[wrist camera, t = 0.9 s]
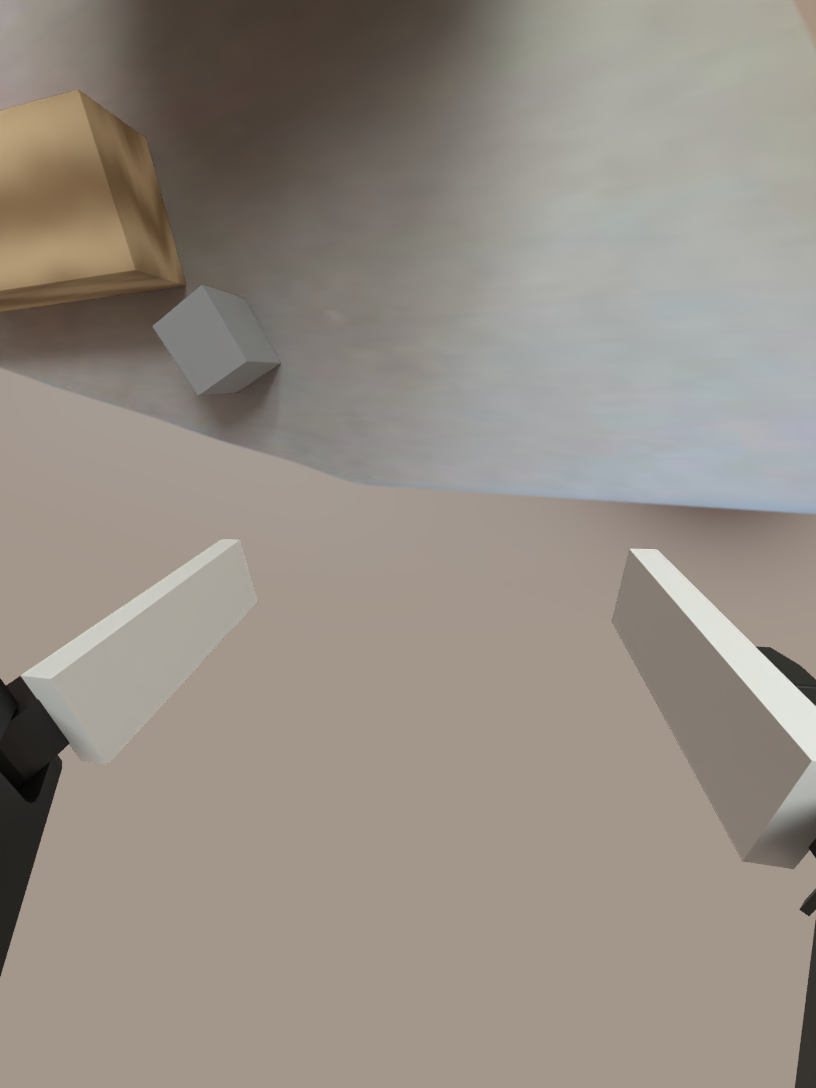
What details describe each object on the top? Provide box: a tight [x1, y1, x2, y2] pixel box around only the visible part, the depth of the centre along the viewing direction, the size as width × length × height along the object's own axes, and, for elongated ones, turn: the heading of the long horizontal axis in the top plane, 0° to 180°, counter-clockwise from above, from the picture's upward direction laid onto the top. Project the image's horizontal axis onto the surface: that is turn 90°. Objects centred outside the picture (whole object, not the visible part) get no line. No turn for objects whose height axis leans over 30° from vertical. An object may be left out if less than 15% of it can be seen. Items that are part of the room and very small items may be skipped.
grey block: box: [152, 285, 281, 396], centre depth 32 cm, size 6×6×6 cm
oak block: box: [0, 90, 186, 312], centre depth 31 cm, size 10×23×6 cm, turn 94°
